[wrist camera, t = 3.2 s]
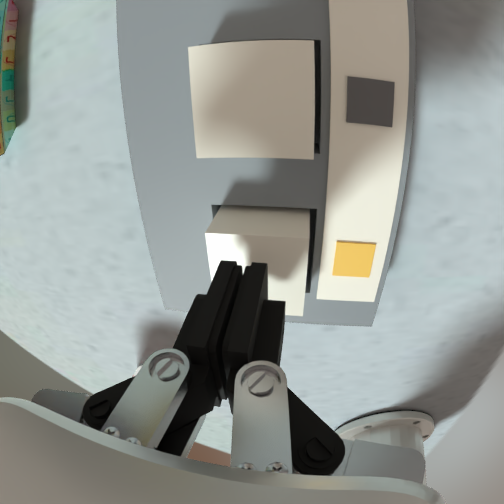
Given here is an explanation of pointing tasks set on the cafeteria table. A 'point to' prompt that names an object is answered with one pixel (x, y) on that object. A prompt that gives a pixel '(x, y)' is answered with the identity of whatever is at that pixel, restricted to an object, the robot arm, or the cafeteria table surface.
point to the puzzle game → (7, 71)
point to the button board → (276, 169)
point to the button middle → (253, 99)
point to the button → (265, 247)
